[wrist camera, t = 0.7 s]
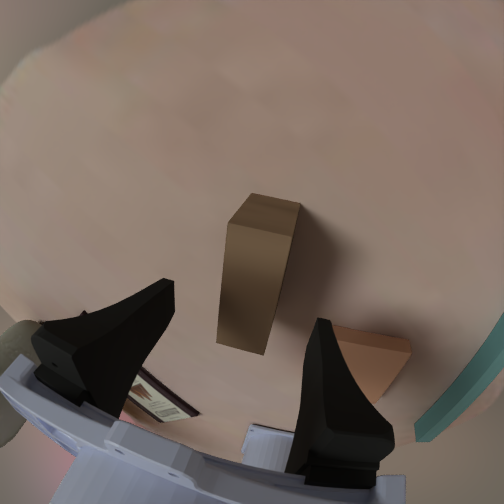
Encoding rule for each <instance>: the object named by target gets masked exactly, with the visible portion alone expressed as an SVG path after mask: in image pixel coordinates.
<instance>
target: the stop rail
mask: <svg viewBox="0 0 504 504" xmlns="http://www.w3.org/2000/svg"><path fill="white" fill-rule="evenodd" d="M503 367H504V313H503V315H502V316H501V318H500V319H499V321H498V323H497V324H496V326H495V327H494V329H493V330H492V332H491V333H490V335H489V336H488V338H487V339H486V341H485V342H484V344H483V345H482V346H481V348H480V349H479V351H478V352H477V353H476V355H475V356H474V357H473V359H472V360H471V361H470V363H469V364H468V365H467V366H466V368H465V369H464V370H463V372H462V373H461V374H460V375H459V376H458V378H457V379H456V380H455V381H454V382H453V384H452V385H451V386H450V387H449V388H448V389H447V391H446V392H445V393H444V394H443V395H442V396H441V397H440V398H439V399H438V401H437V402H436V403H435V404H434V405H433V406H432V407H431V408H430V409H429V410H428V411H427V412H426V413H425V414H424V415H423V416H422V417H421V418H420V419H419V420H418V421H417V422H416V423H415V424H414V427H415V436H416V442H430V441H432V440H433V439H434V438H435V437H436V436H437V435H439V434H440V433H441V432H442V431H443V430H444V429H446V428H447V427H448V426H449V425H450V424H451V423H452V422H453V421H454V420H455V419H456V418H457V417H458V416H460V415H461V414H462V413H463V412H464V411H465V410H466V409H467V408H468V407H469V406H470V405H471V404H472V403H473V402H474V400H475V399H476V398H477V397H478V396H479V395H480V394H481V393H482V392H483V391H484V390H485V389H486V387H487V386H488V385H489V384H490V383H491V382H492V381H493V379H494V378H495V377H496V376H497V375H498V374H499V372H500V371H501V370H502V369H503Z"/></svg>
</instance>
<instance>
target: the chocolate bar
mask: <svg viewBox="0 0 504 504" xmlns="http://www.w3.org/2000/svg"><path fill="white" fill-rule="evenodd" d="M85 314H87V313H86V311H85V310H84V311H83V312H82V313H81V314H80V316H82V315H85ZM127 398H128V399H129V400H131V401H132V402H133V403H134V404H136V405H137V406H138V407H139V408H141V409H142V410H143V411H145V412H146V413H147V414H149V415H150V416H151V417H153V418H154V419H155V420H157V421H158V422H160V423H162V422H168V421H174V420H179V419H184V418H189V417H194V416H198V414H199V412H198V411H197V410H195V409H194V408H193V407H191V406H190V405H189V404H187V403H186V402H185V401H183V400H182V399H181V398H180V397H178V396H177V395H176V394H174V393H173V392H172V391H171V390H169V389H168V388H167V387H166V386H164V385H163V384H162V383H161V382H160V381H158V380H157V379H156V378H155V377H154V376H152V375H151V374H150V373H149V372H148V371H147V370H145V369H144V368H143V367H142V366H141V368H140V370H139V372H138V374H137V376H136V378H135V380H134V383H133V385H132V387H131V389H130V391H129V394H128V396H127Z"/></svg>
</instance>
